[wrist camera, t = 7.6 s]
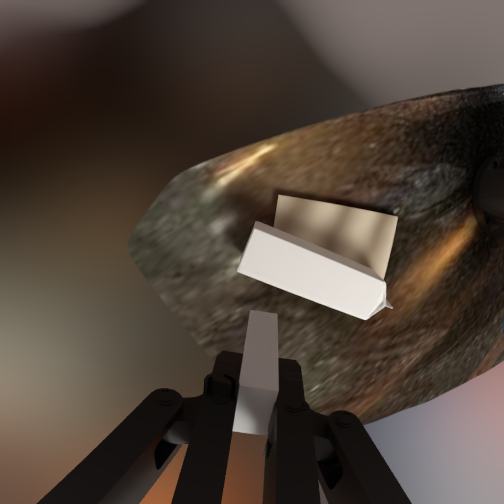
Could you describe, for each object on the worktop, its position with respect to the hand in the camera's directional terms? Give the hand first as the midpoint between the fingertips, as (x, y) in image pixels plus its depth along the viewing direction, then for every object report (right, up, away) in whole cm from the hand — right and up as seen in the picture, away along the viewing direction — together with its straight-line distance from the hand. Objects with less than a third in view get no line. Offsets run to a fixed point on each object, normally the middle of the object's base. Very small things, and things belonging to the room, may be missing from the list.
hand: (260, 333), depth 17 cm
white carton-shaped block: (-1, +6, +23) cm, 24 cm away
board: (+11, +6, +27) cm, 30 cm away
